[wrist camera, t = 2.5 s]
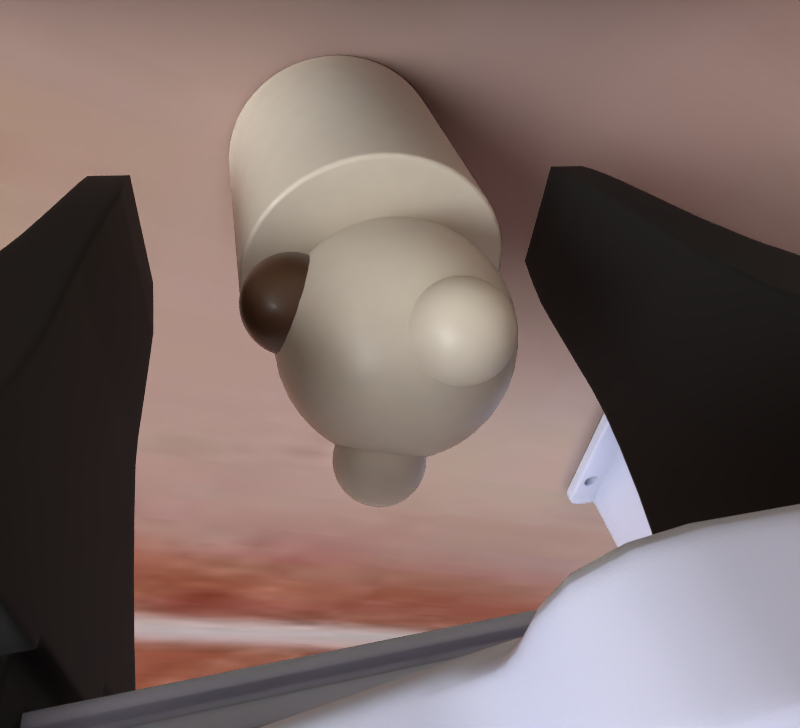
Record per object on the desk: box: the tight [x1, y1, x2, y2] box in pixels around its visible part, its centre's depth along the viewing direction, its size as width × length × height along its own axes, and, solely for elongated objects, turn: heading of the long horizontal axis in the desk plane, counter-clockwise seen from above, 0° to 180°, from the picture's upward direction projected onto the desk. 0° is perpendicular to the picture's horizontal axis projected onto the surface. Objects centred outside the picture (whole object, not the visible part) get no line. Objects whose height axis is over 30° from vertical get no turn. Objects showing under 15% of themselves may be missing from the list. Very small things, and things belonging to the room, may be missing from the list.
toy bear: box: [229, 55, 518, 507], centre depth 10 cm, size 4×4×7 cm
